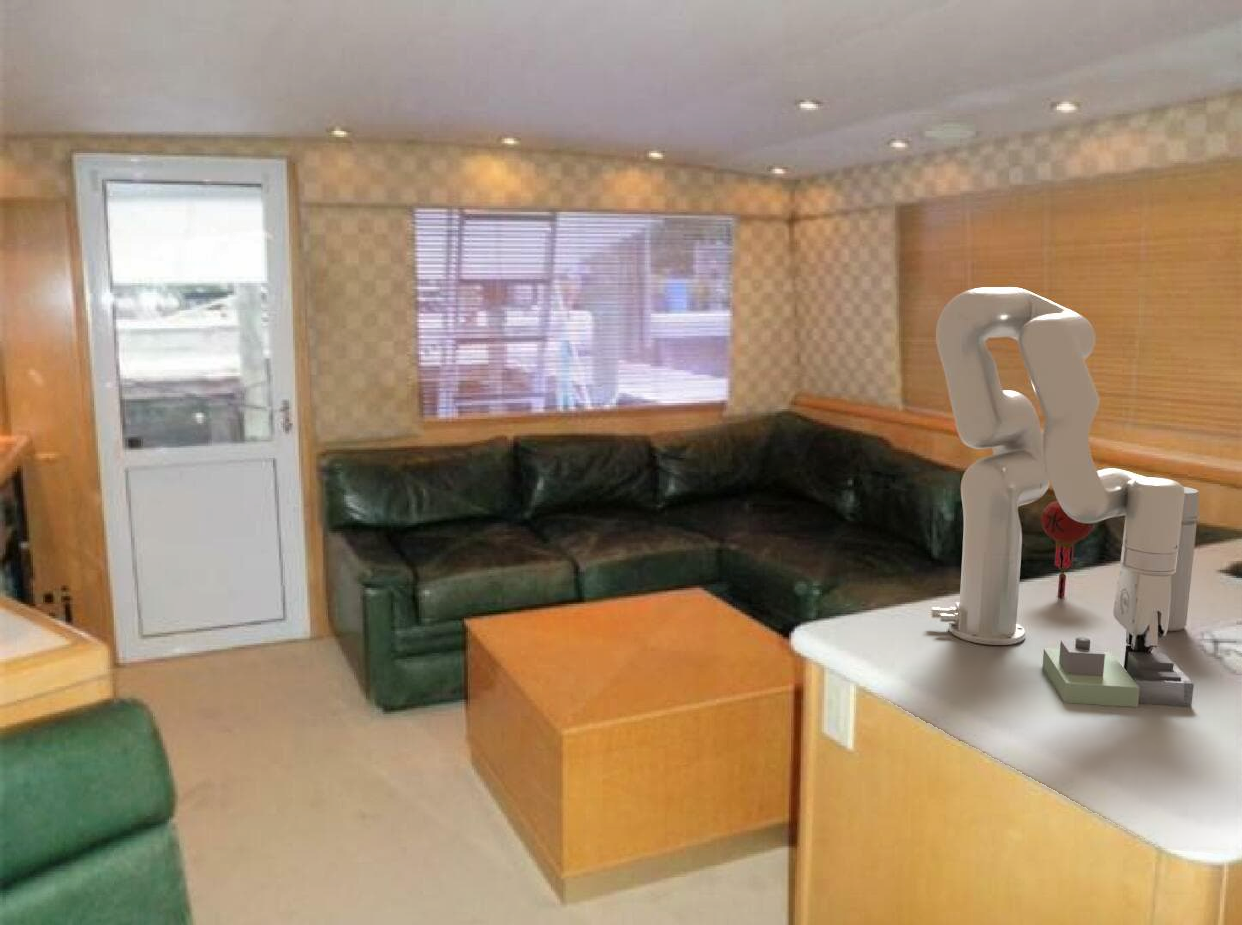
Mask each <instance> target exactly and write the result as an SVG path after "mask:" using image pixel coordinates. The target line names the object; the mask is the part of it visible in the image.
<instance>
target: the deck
mask: <svg viewBox="0 0 1242 925" xmlns="http://www.w3.org/2000/svg"><path fill="white" fill-rule="evenodd" d="M1042 657H1043V658H1042V668H1043V669H1044V671H1045V672H1046V674H1047V676H1048V678H1049V679H1050V680H1051V682H1052V684H1053V686H1054V687H1055V689H1056V690H1057V692H1058V694H1059V695H1060V696H1061V699H1062V701H1063V702H1064V703H1069V704H1071V703H1073V704H1087V705H1101V706H1102V705H1103V706H1114V707H1115V706H1116V707H1131V708H1138V706H1139V703H1138V700H1139V689H1140V687H1139V686H1138V685H1137V684H1136V683H1135V681H1134V680H1133V679H1132V678H1131V676H1130V675H1129V674H1128V673H1127V671H1126V670H1125V669H1124V666H1122V664H1121V663H1120V662H1119V661H1118V659H1117V658H1116V657H1115V655H1114V654H1113V653H1112V652H1111V651H1103V650H1102V648H1101V647H1100V646H1099V645H1098V643H1097V642H1095V641H1091V639H1090V638H1087V637H1085V636H1084V637H1082V636H1080V637H1079V636H1078V637H1075V640H1066V639H1065V640H1064V639H1063V640H1060V647H1059V648H1043V656H1042Z"/></svg>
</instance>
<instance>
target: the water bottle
mask: <svg viewBox="0 0 1242 925" xmlns="http://www.w3.org/2000/svg"><path fill="white" fill-rule="evenodd" d="M1183 488H1184V491H1185V495H1184V505H1183V513H1182V522H1181V530H1180V539H1179V547H1178V555H1177V564H1176V572H1175V573H1174V574H1171V598H1170V613H1169V623H1168V629H1167V632H1178V631H1181V630H1183V629H1184V628H1185V627H1187V623H1188V622H1187V619H1188V612H1189V611H1188V610H1189V601H1190V592H1191V582H1192V574H1193V573H1192V572H1193V564H1194V554H1195V552H1194V551H1195V545H1196V543H1195V542H1196V533H1197V525H1198V524H1197V522H1196V521H1198V520H1200V517H1199V515H1200V513H1199V512H1200V506H1199V505H1200V502H1199V498H1200V497H1199V496H1200V495H1199V493H1200V492H1199V490H1197V489H1195V488H1192V487H1189V486H1183Z"/></svg>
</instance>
